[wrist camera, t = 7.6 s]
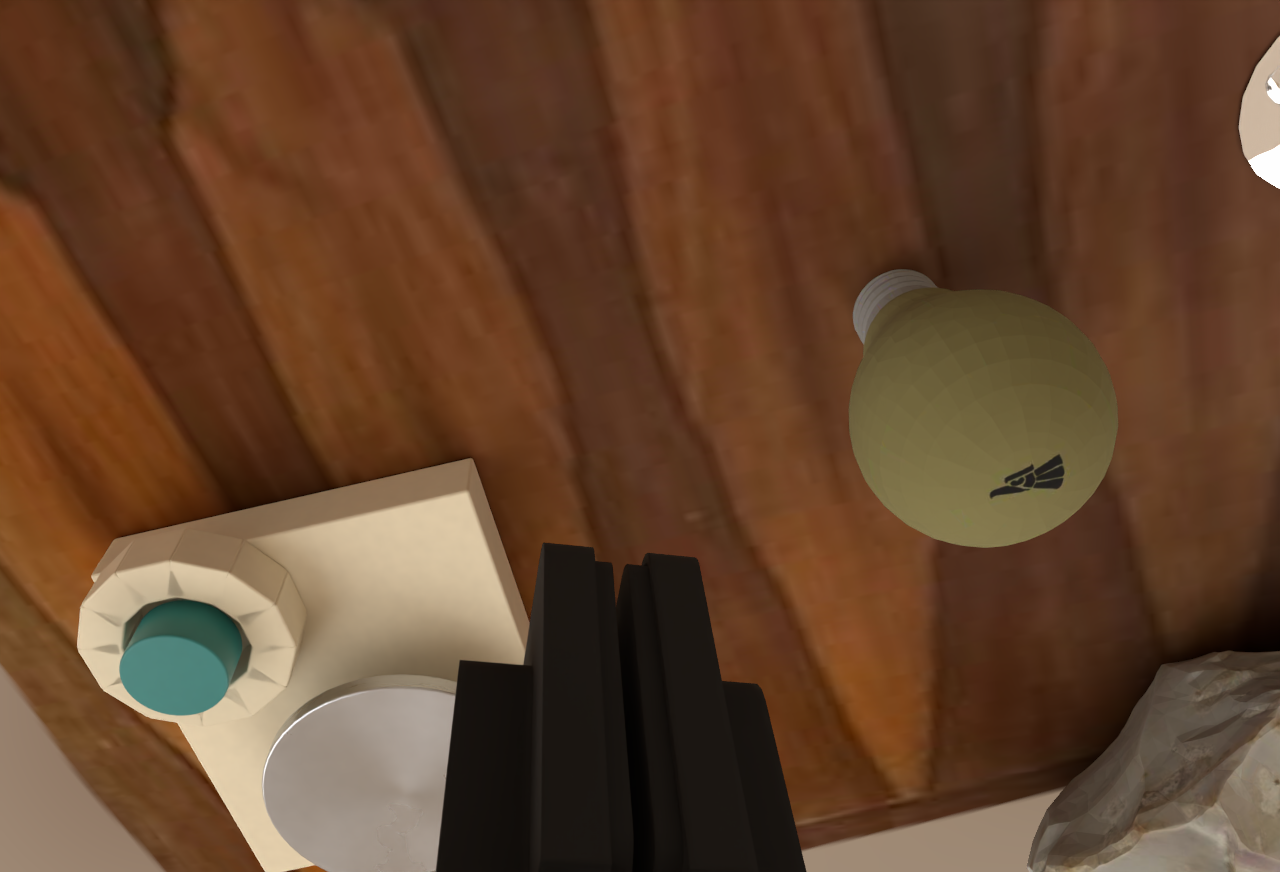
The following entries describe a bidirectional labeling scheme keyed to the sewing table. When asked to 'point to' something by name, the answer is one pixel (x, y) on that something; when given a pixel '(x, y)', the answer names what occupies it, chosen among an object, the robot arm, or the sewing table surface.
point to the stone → (1180, 778)
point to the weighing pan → (364, 774)
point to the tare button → (181, 658)
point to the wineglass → (1263, 117)
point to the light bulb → (977, 410)
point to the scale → (314, 610)
